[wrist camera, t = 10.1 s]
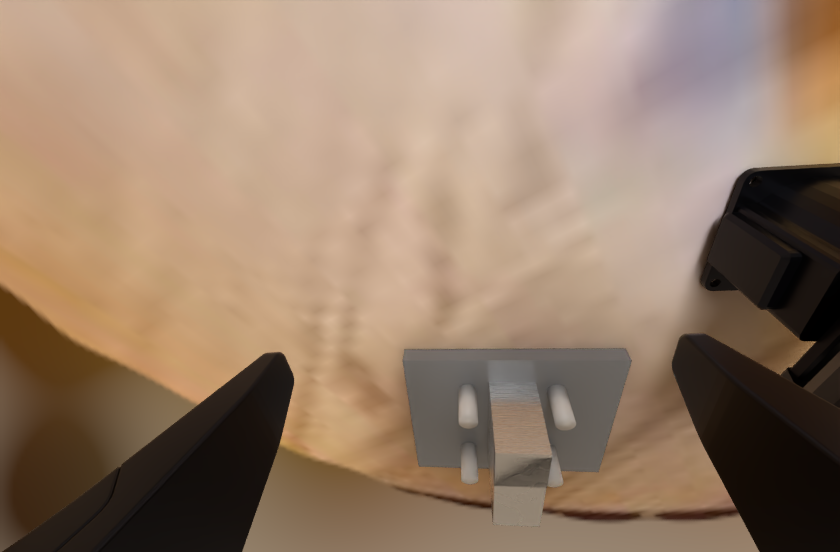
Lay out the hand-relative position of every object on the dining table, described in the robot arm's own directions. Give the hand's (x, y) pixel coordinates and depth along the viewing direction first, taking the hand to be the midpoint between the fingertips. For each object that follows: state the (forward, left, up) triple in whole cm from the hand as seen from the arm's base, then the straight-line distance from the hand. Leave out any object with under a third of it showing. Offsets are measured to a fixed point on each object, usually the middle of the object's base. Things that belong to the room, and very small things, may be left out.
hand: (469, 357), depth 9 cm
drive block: (-3, +17, -11) cm, 21 cm away
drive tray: (-3, +17, -12) cm, 21 cm away
